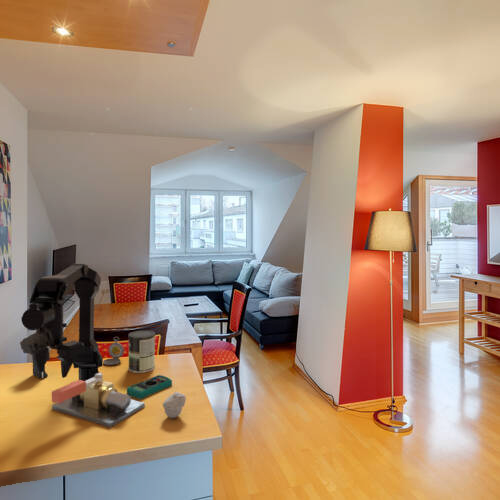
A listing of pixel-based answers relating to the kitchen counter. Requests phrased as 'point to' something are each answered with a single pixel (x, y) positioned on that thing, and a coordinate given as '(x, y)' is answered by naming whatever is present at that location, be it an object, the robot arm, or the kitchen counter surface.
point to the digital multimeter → (149, 386)
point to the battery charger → (35, 370)
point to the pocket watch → (114, 348)
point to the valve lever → (74, 389)
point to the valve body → (100, 405)
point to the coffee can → (141, 351)
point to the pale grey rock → (174, 404)
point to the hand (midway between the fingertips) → (52, 374)
